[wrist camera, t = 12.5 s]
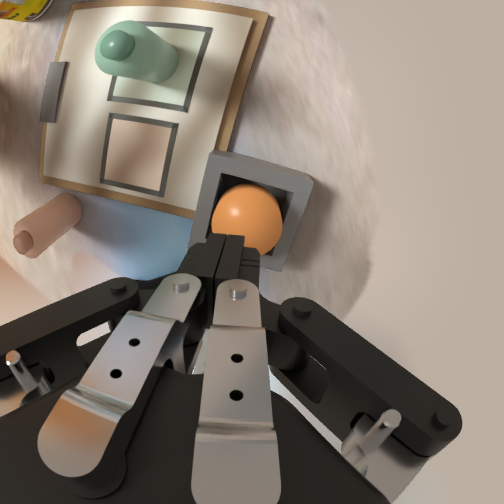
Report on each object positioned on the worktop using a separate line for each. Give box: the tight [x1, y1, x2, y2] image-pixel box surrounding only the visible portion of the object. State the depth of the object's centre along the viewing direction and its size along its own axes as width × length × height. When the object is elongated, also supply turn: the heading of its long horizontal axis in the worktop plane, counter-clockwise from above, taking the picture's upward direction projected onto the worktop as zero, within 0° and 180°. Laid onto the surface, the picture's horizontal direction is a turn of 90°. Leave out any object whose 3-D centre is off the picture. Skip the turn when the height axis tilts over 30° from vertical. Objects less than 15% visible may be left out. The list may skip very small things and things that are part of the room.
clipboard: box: [39, 0, 269, 219], centre depth 20 cm, size 19×19×1 cm
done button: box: [212, 183, 282, 255], centre depth 22 cm, size 5×5×2 cm
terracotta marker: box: [13, 193, 82, 258], centre depth 22 cm, size 4×4×8 cm
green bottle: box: [95, 20, 179, 83], centre depth 15 cm, size 4×4×8 cm
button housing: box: [188, 149, 314, 272], centre depth 24 cm, size 8×8×3 cm
